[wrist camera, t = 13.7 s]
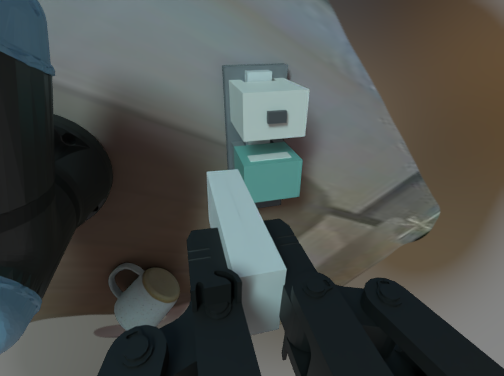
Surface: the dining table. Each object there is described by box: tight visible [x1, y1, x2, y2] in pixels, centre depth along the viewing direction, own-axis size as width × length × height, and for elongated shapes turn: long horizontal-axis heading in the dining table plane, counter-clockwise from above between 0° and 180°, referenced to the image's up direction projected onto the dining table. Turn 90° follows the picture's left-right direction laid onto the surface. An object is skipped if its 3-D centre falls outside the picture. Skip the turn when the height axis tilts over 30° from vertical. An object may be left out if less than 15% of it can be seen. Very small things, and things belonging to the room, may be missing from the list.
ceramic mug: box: [108, 263, 180, 331], centre depth 44 cm, size 11×8×8 cm
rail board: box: [222, 63, 309, 208], centre depth 36 cm, size 19×8×10 cm, turn 2°
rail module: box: [231, 139, 303, 203], centre depth 36 cm, size 5×7×8 cm
